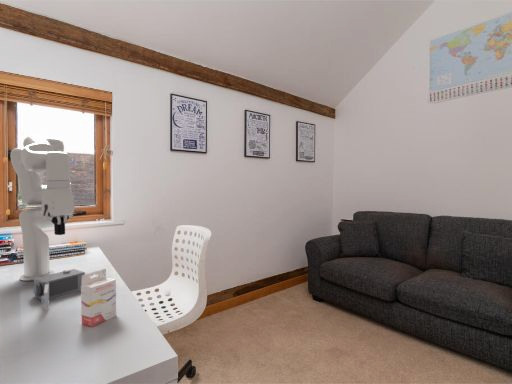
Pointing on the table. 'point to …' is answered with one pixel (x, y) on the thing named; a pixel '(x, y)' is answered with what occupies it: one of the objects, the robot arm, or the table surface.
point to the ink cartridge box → (97, 298)
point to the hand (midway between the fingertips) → (59, 234)
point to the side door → (46, 295)
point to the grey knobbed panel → (59, 283)
